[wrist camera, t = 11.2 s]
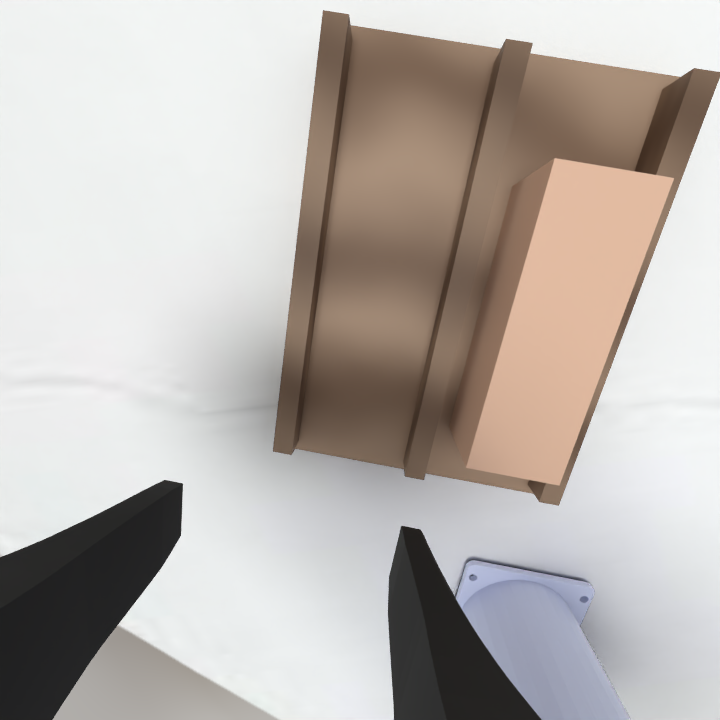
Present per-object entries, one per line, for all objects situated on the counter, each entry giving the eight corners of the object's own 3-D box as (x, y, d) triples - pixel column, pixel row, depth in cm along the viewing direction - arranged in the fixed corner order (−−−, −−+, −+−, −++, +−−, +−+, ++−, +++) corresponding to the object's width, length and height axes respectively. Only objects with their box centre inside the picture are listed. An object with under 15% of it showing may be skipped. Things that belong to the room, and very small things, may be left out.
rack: (533, 482, 20) (555, 513, 18) (286, 436, 21) (271, 459, 18) (668, 93, 15) (727, 56, 12) (335, 41, 15) (324, -6, 13)
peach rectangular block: (522, 440, 18) (559, 485, 15) (448, 426, 18) (466, 467, 15) (601, 201, 15) (674, 177, 11) (512, 186, 15) (554, 158, 12)
